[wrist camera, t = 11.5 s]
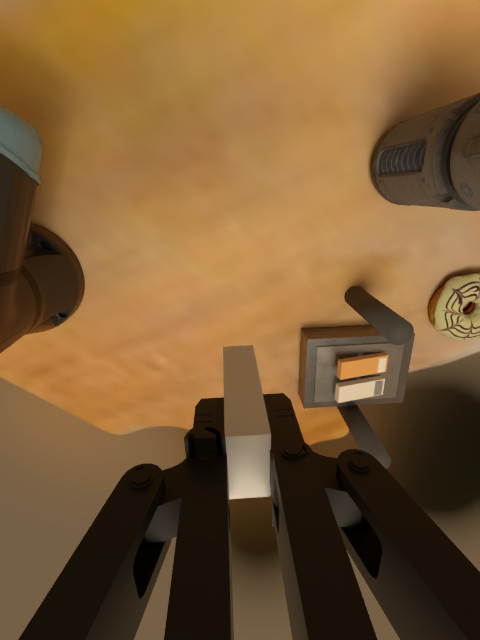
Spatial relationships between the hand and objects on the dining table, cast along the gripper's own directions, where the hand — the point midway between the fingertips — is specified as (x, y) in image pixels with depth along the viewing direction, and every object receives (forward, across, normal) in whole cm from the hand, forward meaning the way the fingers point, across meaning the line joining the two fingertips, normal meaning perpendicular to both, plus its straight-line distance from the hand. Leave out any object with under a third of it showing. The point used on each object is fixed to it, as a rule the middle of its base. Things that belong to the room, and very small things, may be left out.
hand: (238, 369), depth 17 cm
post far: (+32, +19, -26) cm, 46 cm away
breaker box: (+32, +19, -18) cm, 42 cm away
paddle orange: (+27, +19, -16) cm, 37 cm away
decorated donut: (+33, +36, -9) cm, 50 cm away
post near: (+32, +19, -7) cm, 38 cm away
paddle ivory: (+27, +19, -20) cm, 39 cm away
